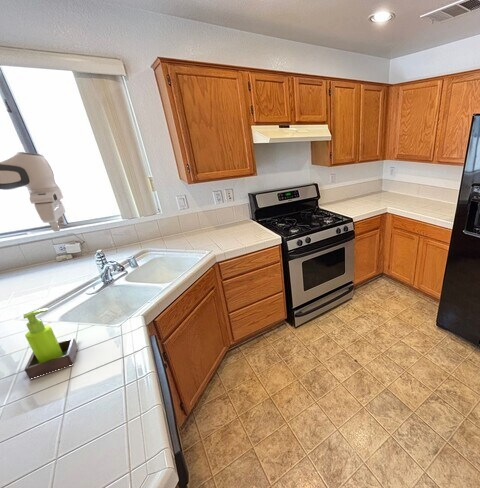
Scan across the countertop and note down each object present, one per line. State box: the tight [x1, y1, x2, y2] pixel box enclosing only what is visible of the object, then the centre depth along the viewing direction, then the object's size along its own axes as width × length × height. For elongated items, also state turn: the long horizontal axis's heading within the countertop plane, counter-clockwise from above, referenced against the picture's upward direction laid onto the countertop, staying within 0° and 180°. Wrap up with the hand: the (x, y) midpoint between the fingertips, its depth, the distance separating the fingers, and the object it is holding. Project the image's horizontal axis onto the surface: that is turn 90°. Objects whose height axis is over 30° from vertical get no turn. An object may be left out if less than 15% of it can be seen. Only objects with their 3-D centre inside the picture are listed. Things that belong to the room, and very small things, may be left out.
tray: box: [24, 337, 79, 380], centre depth 91 cm, size 11×11×5 cm
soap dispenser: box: [23, 307, 64, 363], centre depth 88 cm, size 6×7×20 cm
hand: (59, 228), depth 109 cm, fingers open, 8 cm apart
